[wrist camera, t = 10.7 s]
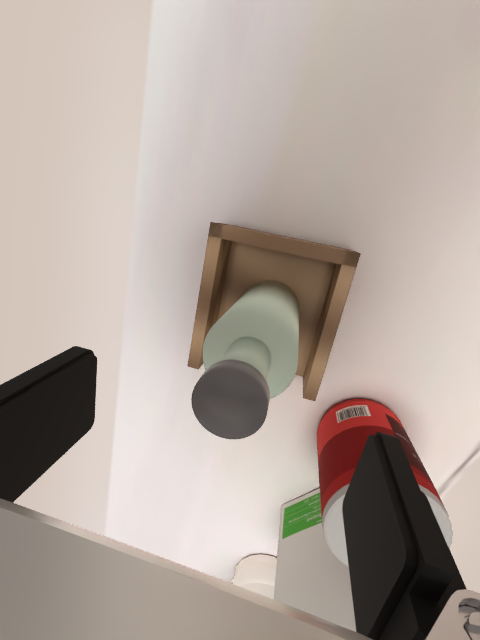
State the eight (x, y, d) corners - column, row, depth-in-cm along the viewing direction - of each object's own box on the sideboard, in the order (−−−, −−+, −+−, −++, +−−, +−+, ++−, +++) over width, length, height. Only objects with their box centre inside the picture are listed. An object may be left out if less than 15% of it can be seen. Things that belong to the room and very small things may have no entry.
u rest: (225, 223, 28) (210, 222, 23) (351, 250, 26) (360, 253, 22) (203, 347, 31) (187, 366, 27) (313, 376, 30) (315, 401, 26)
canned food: (301, 439, 32) (300, 539, 22) (347, 380, 29) (371, 461, 19) (367, 479, 32) (398, 599, 21) (419, 422, 29) (483, 528, 19)
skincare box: (344, 474, 32) (378, 680, 17) (380, 521, 33) (444, 759, 18) (277, 505, 35) (258, 707, 20) (312, 548, 35) (319, 775, 21)
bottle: (248, 274, 28) (174, 326, 12) (306, 287, 27) (313, 362, 11) (236, 328, 29) (157, 441, 13) (291, 342, 29) (278, 478, 13)
